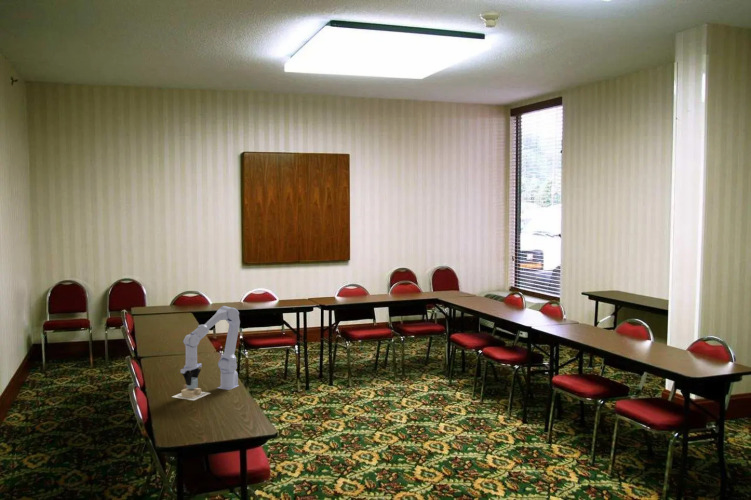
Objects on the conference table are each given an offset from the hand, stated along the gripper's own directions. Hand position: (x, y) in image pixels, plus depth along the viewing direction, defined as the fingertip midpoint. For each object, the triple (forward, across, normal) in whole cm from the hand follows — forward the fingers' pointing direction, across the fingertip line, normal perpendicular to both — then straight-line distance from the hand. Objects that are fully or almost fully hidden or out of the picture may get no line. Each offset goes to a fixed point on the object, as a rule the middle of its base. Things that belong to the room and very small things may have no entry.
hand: (191, 384), depth 329 cm
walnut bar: (+6, -8, -7) cm, 12 cm away
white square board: (+6, 0, 0) cm, 6 cm away
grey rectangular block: (+2, 0, 0) cm, 2 cm away
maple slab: (+6, 0, 0) cm, 6 cm away
